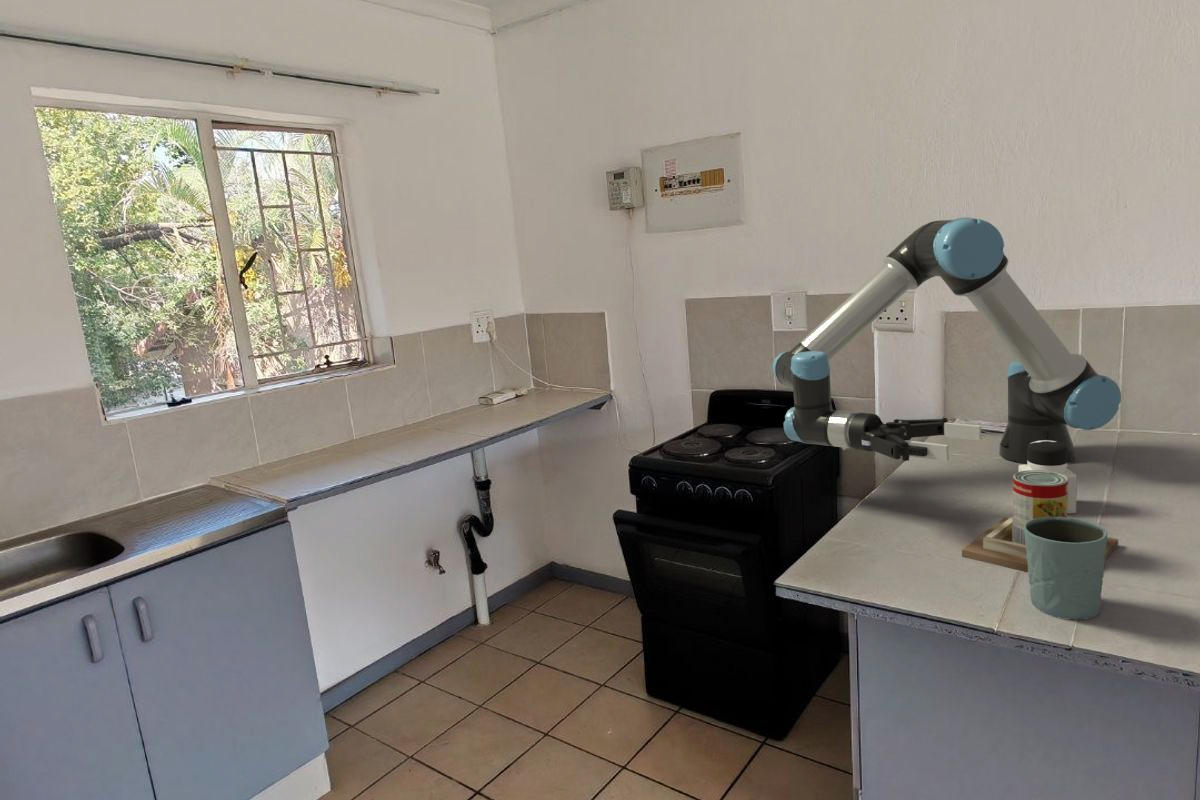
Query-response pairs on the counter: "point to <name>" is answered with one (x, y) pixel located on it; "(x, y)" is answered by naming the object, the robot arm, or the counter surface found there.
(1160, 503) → the counter surface
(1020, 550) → the collar board
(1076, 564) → the green plant pot
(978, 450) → the counter surface
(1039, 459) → the container
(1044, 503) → the canned food
